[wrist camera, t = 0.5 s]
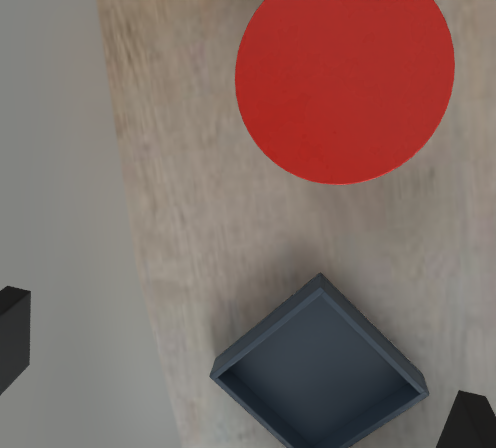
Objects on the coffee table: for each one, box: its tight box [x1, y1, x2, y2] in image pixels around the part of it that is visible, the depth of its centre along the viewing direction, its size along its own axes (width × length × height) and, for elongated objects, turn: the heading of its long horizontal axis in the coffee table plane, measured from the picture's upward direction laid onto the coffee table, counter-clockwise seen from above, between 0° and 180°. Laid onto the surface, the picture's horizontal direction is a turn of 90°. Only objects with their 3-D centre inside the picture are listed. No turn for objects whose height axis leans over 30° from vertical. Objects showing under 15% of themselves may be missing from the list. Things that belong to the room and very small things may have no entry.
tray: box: [209, 273, 429, 448], centre depth 38 cm, size 12×12×2 cm
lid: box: [235, 0, 455, 185], centre depth 22 cm, size 10×10×2 cm
